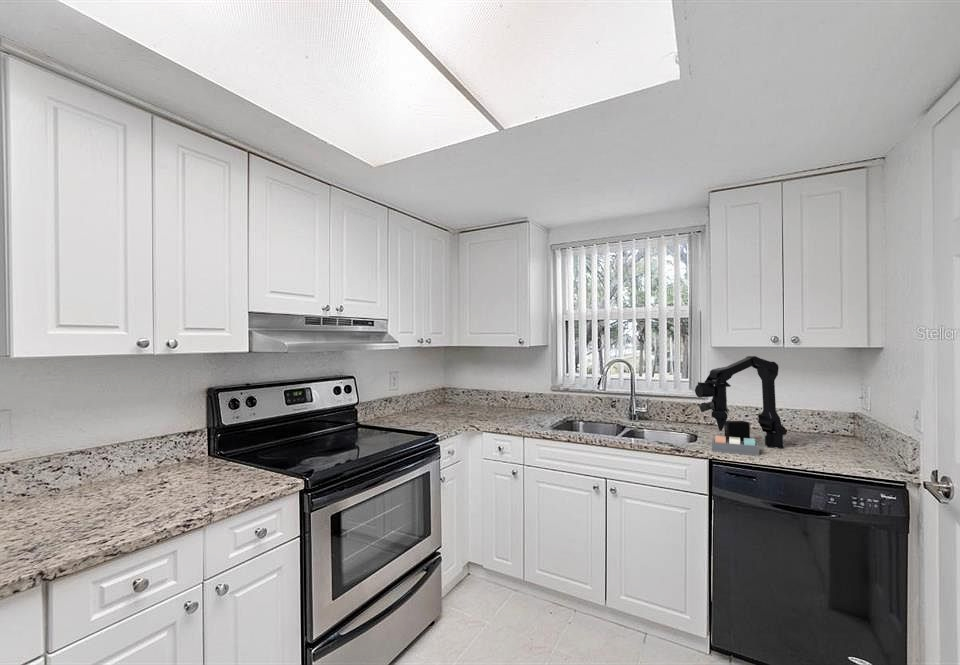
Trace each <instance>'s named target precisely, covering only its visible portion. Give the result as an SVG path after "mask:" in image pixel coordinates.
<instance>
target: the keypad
mask: <svg viewBox="0 0 960 665" xmlns="http://www.w3.org/2000/svg"><path fill="white" fill-rule="evenodd" d="M714 451H715V452H716V453H726V454H737V455H744V456H754V455H759V456H760V446H759V442H756V441H755V446H753V445H744V441H740V444H731V443H729V440H726V443H720V442H715V438H712V439H711V452H714Z"/></svg>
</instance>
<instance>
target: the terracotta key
mask: <svg viewBox="0 0 960 665" xmlns="http://www.w3.org/2000/svg"><path fill="white" fill-rule="evenodd" d="M714 439H715V442H720V443H726V436H725V435H723V436H722V435H715V437H714Z"/></svg>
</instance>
